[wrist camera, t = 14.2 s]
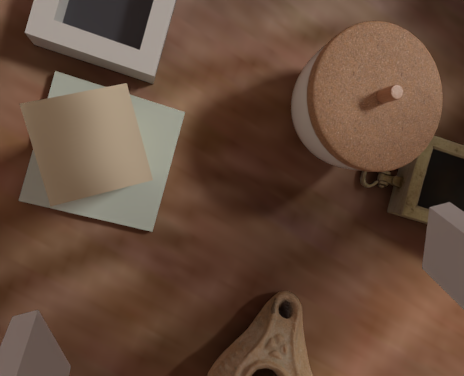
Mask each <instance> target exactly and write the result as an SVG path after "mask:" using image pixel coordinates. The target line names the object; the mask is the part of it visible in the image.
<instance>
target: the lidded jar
mask: <svg viewBox="0 0 464 376" xmlns="http://www.w3.org/2000/svg"><path fill="white" fill-rule="evenodd" d="M442 103H443V94H442V84H441V79H440V75H439V72H438V69H437V66H436V64H435V62H434V60H433V58H432V56H431V54H430V53H429V51H428V50H427V49H426V47H425V46H424V44H423V43H422V42H421V41H420V40H419V39H418V38H417V37H415V36H414V35H413V34H411V33H410V32H409V31H408V30H405V29H403V28H401V27H400V26H398V25H395V24H392V23H388V22H382V21H366V22H362V23H358V24H355V25H353V26H351V27H348V28H346V29H345V30H343V31H342V32H340V33H339V34H338V35H336V36H335V37H333V38H332V39H331V40H330V41H329V42H328V43H327V44H326V45H325V46H323V47H322V48H321V49H320V50H319V51H318V52H317V53H316V54H315V55H314V56H313V57H312V58H311V59H310V60H309V61H308V62H307V64H306V65H305V67H304V68H303V69H302V71H301V73H300V75H299V76H298V78H297V80H296V83H295V86H294V89H293V94H292V100H291V115H292V121H293V124H294V128H295V130H296V133H297V135H298V137H299V138H300V140H301V141H302V143H303V144H304V145H305V146H306V148H307V149H308V150H309V151H310V152H311V153H312V154H314V155H315V156H316V157H317V158H319V159H321V160H322V161H324V162H326V163H328V164H331V165H334V166H336V167H340V168H345V169H350V170H361V171H366V172H385V171H391V170H395V169H398V168H401V167H403V166H405V165H407V164H409V163H410V162H412V161H413V160H414V159H416V158H417V157H418V156H419V155H420V154H421V153H422V152H423V151H424V150H425V149H426V147H427V146H428V144H429V143H430V141H431V140H432V138H433V136H434V134H435V132H436V130H437V128H438V124H439V121H440V118H441V112H442Z"/></svg>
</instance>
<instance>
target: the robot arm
mask: <svg viewBox="0 0 464 376" xmlns="http://www.w3.org/2000/svg"><path fill="white" fill-rule="evenodd" d="M422 269H423V270H424V271H425V272H426V273H427V274H428V275H429V276H430V277H431V278H432V279H433V280H434V281H436V282H437V283H438V284H439V285H440V286H441V287H442V288H443V289H444V290H445V291H446V292H447V293H448V294H449V295H450V296H451V297H452V298H453V299H454V300H455V301H456V302H457V303H458V304H459V305H460V306H461V307H462V308H463V309H464V211H462V210H461V209H459V208H458V207H456V206H455V205H453V204H452V203H450V202H447V203H444V204H440V205H436V206H432V207H429V215H428V223H427V231H426V239H425V247H424V256H423V264H422ZM70 369H71V366H70V364H69V362H68V360H67V359H66V357H65V355H64V353H63V352H62V350H61V348H60V347H59V345H58V343H57V341H56V340H55V338H54V336H53V334H52V333H51V331H50V329H49V327H48V326H47V324H46V322H45V321H44V319H43V317H42V315H41V314H40V312H39V310H35V311H31V312H28V313H24V314H20V315H16V316H12V319H11V321H10V324H9V326H8V329H7V331H6V334H5V336H4V339H3V341H2V344H1V346H0V376H69V374H70Z"/></svg>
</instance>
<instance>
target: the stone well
mask: <svg viewBox="0 0 464 376" xmlns="http://www.w3.org/2000/svg"><path fill="white" fill-rule="evenodd" d="M175 3H176V0H34V2H33V5H32V9H31V12H30V16H29V19H28V23H27V26H26V30H25V34H26V35H27V36H28V38H29V39H30V40H31V41H32V43H33V44H34V45H37V46H40V47H43V48H46V49H49V50H52V51H55V52H58V53H61V54H64V55H67V56H70V57H73V58H76V59H79V60H82V61H85V62H88V63H91V64H94V65H97V66H100V67H103V68H106V69H109V70H112V71H115V72H118V73H121V74H124V75H127V76H130V77H133V78H136V79H139V80H142V81H145V82H148V83H151V84H153V83H154V79H155V75H156V72H157V68H158V65H159V61H160V57H161V54H162V50H163V47H164V43H165V39H166V36H167V32H168V28H169V25H170V21H171V18H172V14H173V10H174V7H175Z"/></svg>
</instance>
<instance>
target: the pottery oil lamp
mask: <svg viewBox="0 0 464 376" xmlns="http://www.w3.org/2000/svg"><path fill="white" fill-rule="evenodd" d="M207 376H313V375H312V372H311V369H310V365H309V360H308V356H307V349H306V344H305V337H304V329H303V317H302V306H301V303H300V301H299V299H298V298H297V297H296V295H294V294H293V293H292V292H290V291H280V292H278V293H276V294H275V295H274V296H273V297H272V298H271V299H270V300H269V301H268V302H267V303H266V304H265V305H264V307H263V308H262V309H261V311H260V312H259V313H258V315H257V316H256V318H255V319H254V320H253V322H252V323H251V325H250V326H249V327H248V328H247V330H246V331H245V332H244V333H243V334H242V335H240V336H239V338H237V339H236V340H235V341H234V342H233V343H232V344H231V345H230V346H229V347H228V348H227V349H226V350H225V351H224V352H223V353H222V354H221V355H220V356H219V357H218V358H217V360H216V361H215V362H214V364H213V365H212V367H211V368H210V370H209V372H208V375H207Z"/></svg>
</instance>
